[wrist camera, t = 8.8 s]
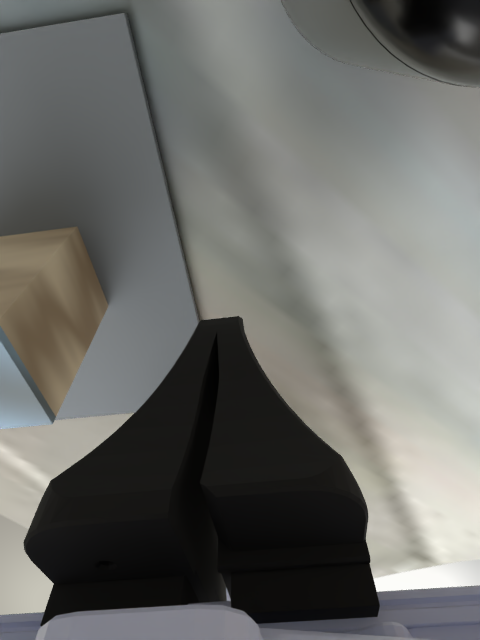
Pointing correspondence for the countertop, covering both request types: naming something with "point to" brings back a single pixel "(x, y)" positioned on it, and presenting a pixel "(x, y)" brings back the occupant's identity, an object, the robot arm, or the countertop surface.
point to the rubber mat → (97, 198)
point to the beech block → (44, 321)
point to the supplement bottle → (396, 35)
